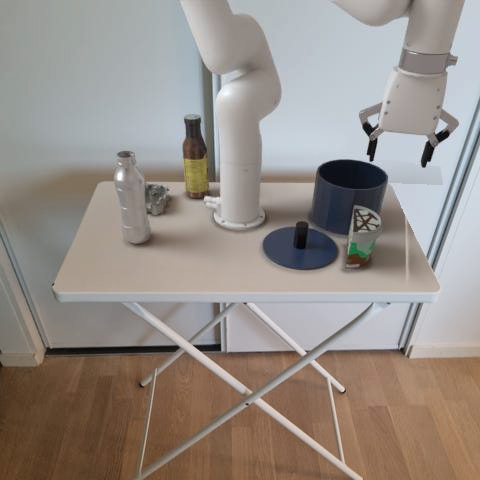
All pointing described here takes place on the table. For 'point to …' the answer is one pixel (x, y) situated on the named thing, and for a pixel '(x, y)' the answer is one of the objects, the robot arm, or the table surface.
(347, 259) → the food container
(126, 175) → the plastic bottle
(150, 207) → the grey metal casting
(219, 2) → the robot arm
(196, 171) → the sauce bottle
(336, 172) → the pot
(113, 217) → the table surface
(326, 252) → the pot lid
